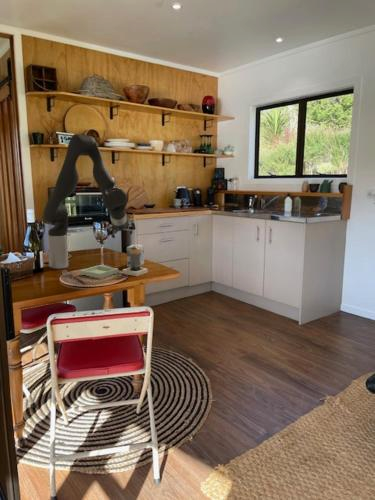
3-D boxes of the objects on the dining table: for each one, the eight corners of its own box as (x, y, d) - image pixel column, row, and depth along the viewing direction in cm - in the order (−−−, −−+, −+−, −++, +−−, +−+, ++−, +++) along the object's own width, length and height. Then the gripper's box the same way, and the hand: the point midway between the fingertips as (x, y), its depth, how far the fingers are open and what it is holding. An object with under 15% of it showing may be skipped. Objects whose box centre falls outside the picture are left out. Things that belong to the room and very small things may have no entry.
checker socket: (122, 273, 189) (122, 269, 189) (134, 270, 197) (133, 266, 196) (136, 276, 185) (136, 272, 184) (147, 272, 192) (147, 268, 192)
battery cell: (128, 273, 190) (128, 246, 187) (134, 271, 194) (134, 245, 191) (136, 274, 187) (135, 247, 185) (142, 272, 191) (141, 246, 189)
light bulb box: (138, 267, 202) (138, 247, 200) (126, 266, 203) (126, 247, 201) (144, 263, 212) (144, 244, 210) (133, 262, 214) (133, 243, 212)
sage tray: (80, 275, 185) (80, 270, 184) (99, 269, 196) (99, 265, 195) (99, 279, 178) (99, 273, 178) (118, 273, 189) (118, 268, 189)
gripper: (131, 208, 181) (134, 225, 196) (102, 215, 178) (106, 231, 193) (135, 221, 178) (137, 238, 192) (105, 228, 175) (109, 244, 190)
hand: (122, 234), depth 193 cm, fingers open, 8 cm apart
